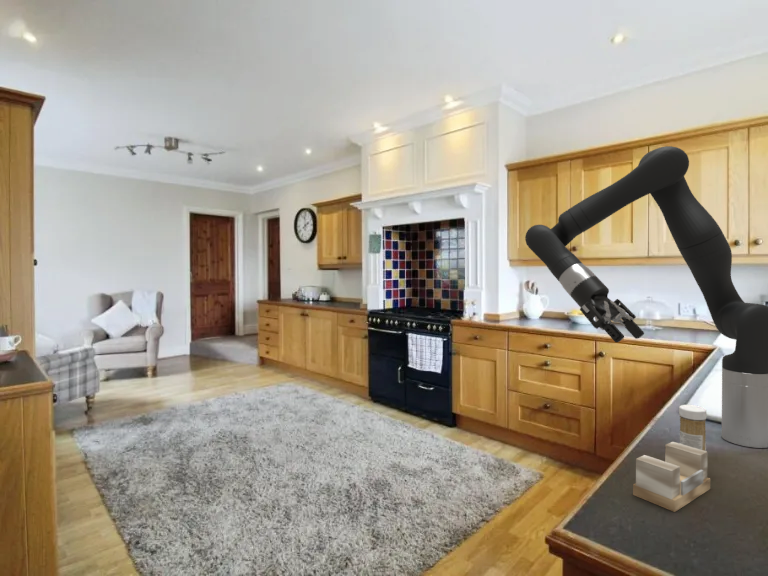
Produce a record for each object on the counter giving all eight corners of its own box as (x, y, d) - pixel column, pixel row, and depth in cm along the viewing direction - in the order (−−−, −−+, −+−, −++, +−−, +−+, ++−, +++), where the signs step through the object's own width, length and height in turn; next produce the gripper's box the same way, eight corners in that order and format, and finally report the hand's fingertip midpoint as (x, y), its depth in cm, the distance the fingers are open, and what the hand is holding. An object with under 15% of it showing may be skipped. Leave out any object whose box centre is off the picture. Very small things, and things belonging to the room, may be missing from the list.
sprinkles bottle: (710, 473, 88) (710, 408, 88) (700, 479, 86) (700, 412, 85) (684, 465, 92) (684, 402, 91) (674, 470, 89) (675, 406, 89)
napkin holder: (669, 474, 88) (669, 440, 87) (710, 488, 82) (710, 452, 82) (633, 494, 80) (633, 457, 80) (674, 512, 74) (674, 472, 74)
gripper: (575, 275, 99) (626, 330, 90) (609, 274, 107) (659, 325, 98) (555, 297, 104) (601, 352, 95) (589, 295, 111) (635, 345, 102)
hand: (630, 338), depth 96 cm, fingers open, 8 cm apart
